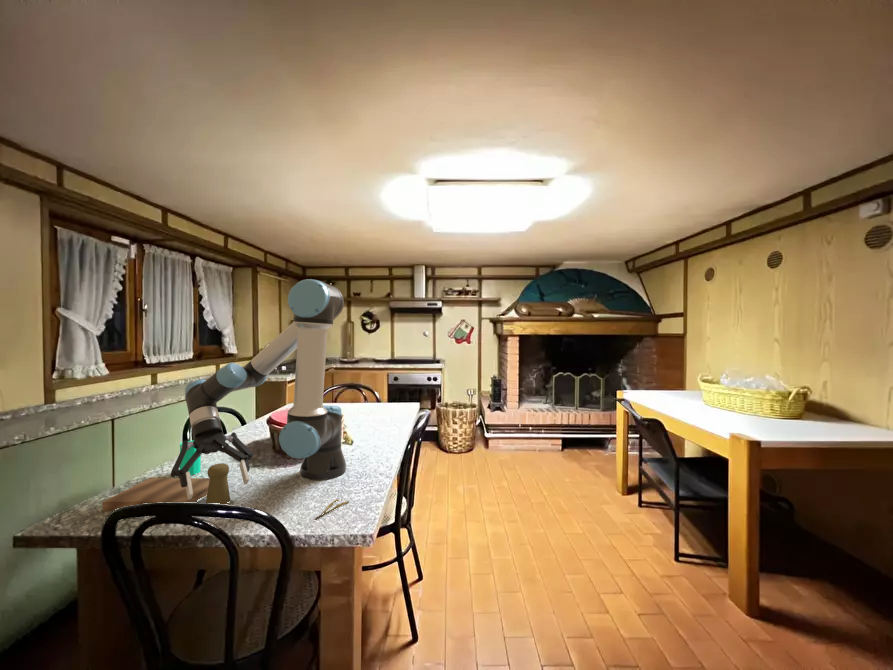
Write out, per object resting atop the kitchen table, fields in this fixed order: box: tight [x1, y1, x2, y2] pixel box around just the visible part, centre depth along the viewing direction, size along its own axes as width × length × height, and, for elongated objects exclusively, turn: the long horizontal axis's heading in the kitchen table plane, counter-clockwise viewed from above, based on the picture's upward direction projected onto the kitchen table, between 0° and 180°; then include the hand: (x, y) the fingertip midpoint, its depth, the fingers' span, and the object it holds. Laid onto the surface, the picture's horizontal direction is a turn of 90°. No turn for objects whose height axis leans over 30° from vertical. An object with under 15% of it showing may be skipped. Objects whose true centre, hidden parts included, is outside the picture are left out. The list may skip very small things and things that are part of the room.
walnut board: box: [102, 477, 210, 512], centre depth 105 cm, size 22×16×2 cm
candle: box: [179, 437, 202, 476], centre depth 124 cm, size 6×6×12 cm
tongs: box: [313, 498, 350, 521], centre depth 98 cm, size 4×13×2 cm, turn 165°
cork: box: [205, 463, 231, 505], centre depth 102 cm, size 6×6×11 cm
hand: (220, 489), depth 100 cm, fingers open, 13 cm apart
